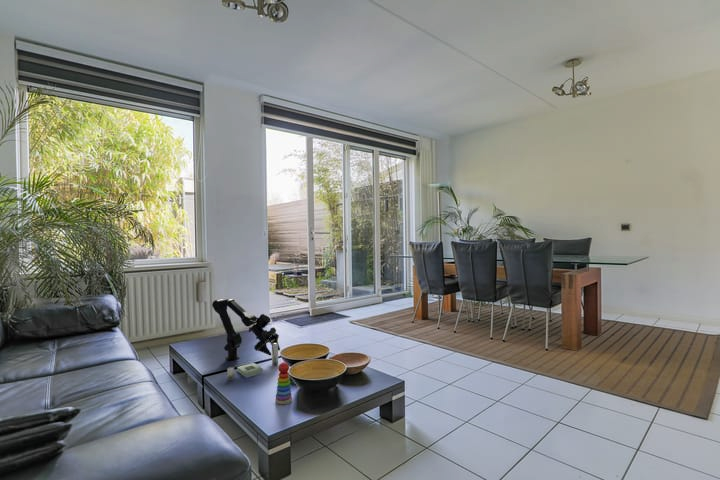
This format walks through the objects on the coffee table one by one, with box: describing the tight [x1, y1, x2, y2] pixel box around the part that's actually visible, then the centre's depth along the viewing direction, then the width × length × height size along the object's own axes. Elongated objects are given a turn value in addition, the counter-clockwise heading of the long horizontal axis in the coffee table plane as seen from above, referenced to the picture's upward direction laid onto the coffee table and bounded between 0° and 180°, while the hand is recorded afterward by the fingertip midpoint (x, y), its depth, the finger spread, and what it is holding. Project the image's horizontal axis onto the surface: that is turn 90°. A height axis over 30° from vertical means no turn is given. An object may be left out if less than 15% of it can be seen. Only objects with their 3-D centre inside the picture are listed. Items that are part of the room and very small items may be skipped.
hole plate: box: [236, 362, 264, 379], centre depth 211 cm, size 12×10×2 cm
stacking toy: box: [274, 361, 293, 406], centre depth 175 cm, size 8×8×19 cm
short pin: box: [226, 366, 235, 381], centre depth 201 cm, size 4×4×6 cm
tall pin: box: [271, 342, 279, 367], centre depth 221 cm, size 4×4×13 cm
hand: (275, 352), depth 221 cm, fingers open, 9 cm apart
